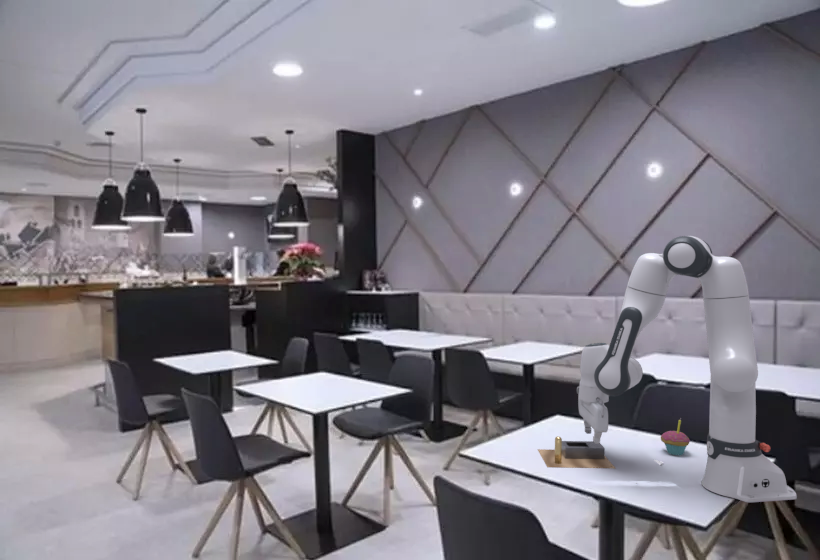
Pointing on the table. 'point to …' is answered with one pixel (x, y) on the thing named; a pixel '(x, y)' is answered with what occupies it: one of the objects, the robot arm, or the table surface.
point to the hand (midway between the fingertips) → (592, 437)
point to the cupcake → (675, 441)
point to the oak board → (573, 461)
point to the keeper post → (558, 450)
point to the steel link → (582, 450)
